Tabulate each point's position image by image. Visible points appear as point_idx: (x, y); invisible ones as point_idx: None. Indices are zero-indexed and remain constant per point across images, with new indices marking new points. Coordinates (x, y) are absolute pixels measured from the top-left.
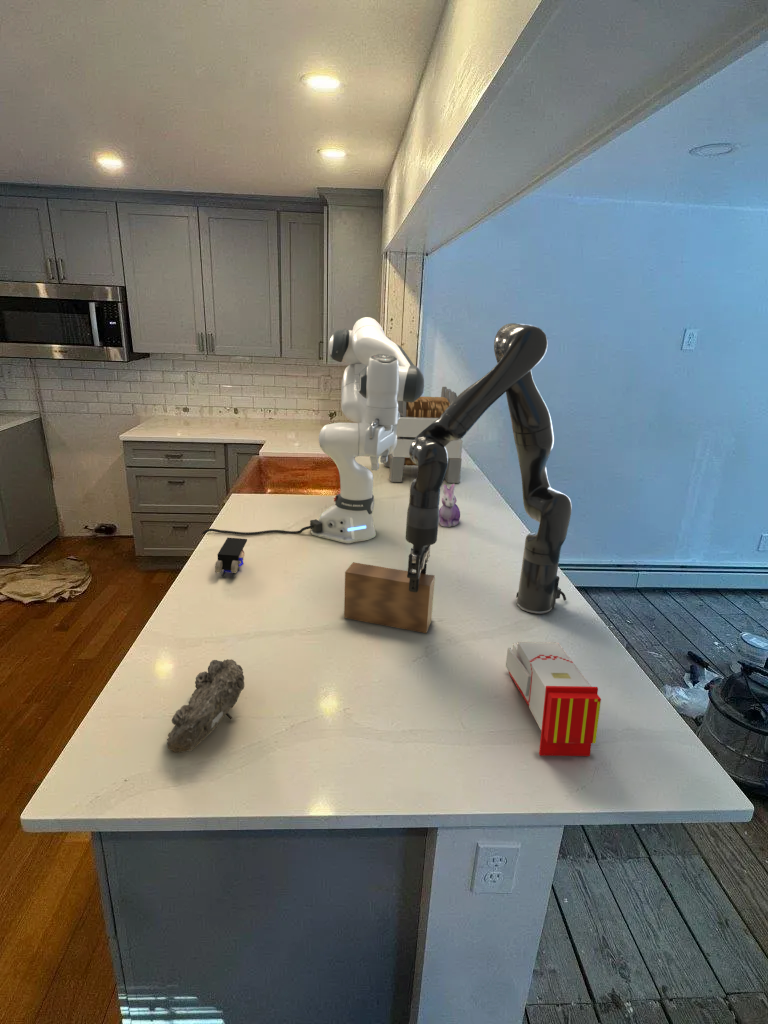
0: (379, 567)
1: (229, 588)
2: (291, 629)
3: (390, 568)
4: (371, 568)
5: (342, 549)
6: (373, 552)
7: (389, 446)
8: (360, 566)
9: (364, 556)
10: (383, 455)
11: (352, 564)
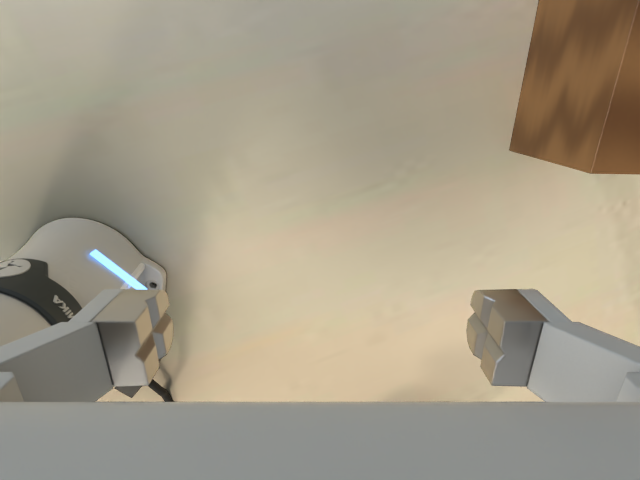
0: (626, 72)
1: (474, 397)
2: (618, 238)
3: (633, 27)
4: (637, 98)
5: (206, 271)
6: (185, 189)
7: (46, 412)
8: (623, 139)
9: (222, 205)
10: (98, 370)
11: (608, 169)
